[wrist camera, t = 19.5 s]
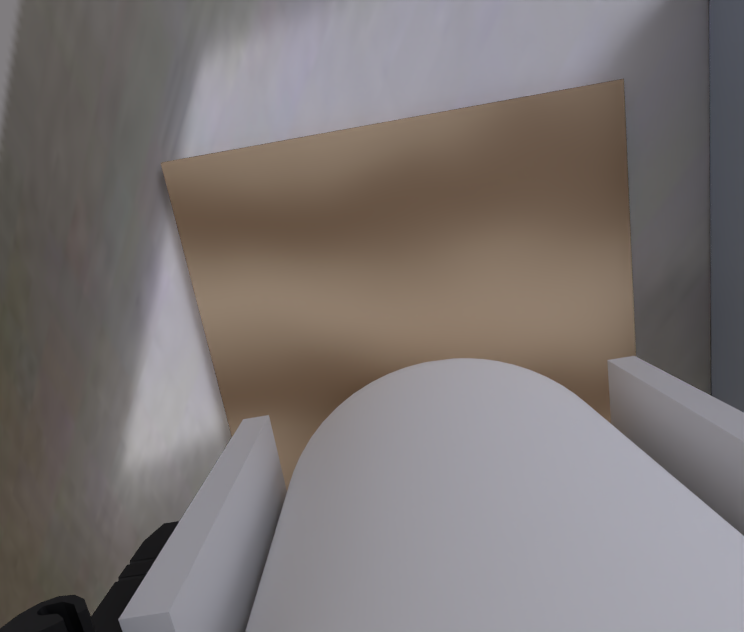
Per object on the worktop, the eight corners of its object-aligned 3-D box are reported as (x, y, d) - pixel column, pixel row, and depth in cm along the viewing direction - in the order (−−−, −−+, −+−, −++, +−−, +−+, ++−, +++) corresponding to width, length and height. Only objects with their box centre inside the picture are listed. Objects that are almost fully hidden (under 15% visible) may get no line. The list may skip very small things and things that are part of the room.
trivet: (166, 164, 14) (160, 162, 13) (616, 82, 13) (623, 78, 13) (287, 632, 18) (285, 641, 17) (639, 580, 17) (646, 588, 17)
